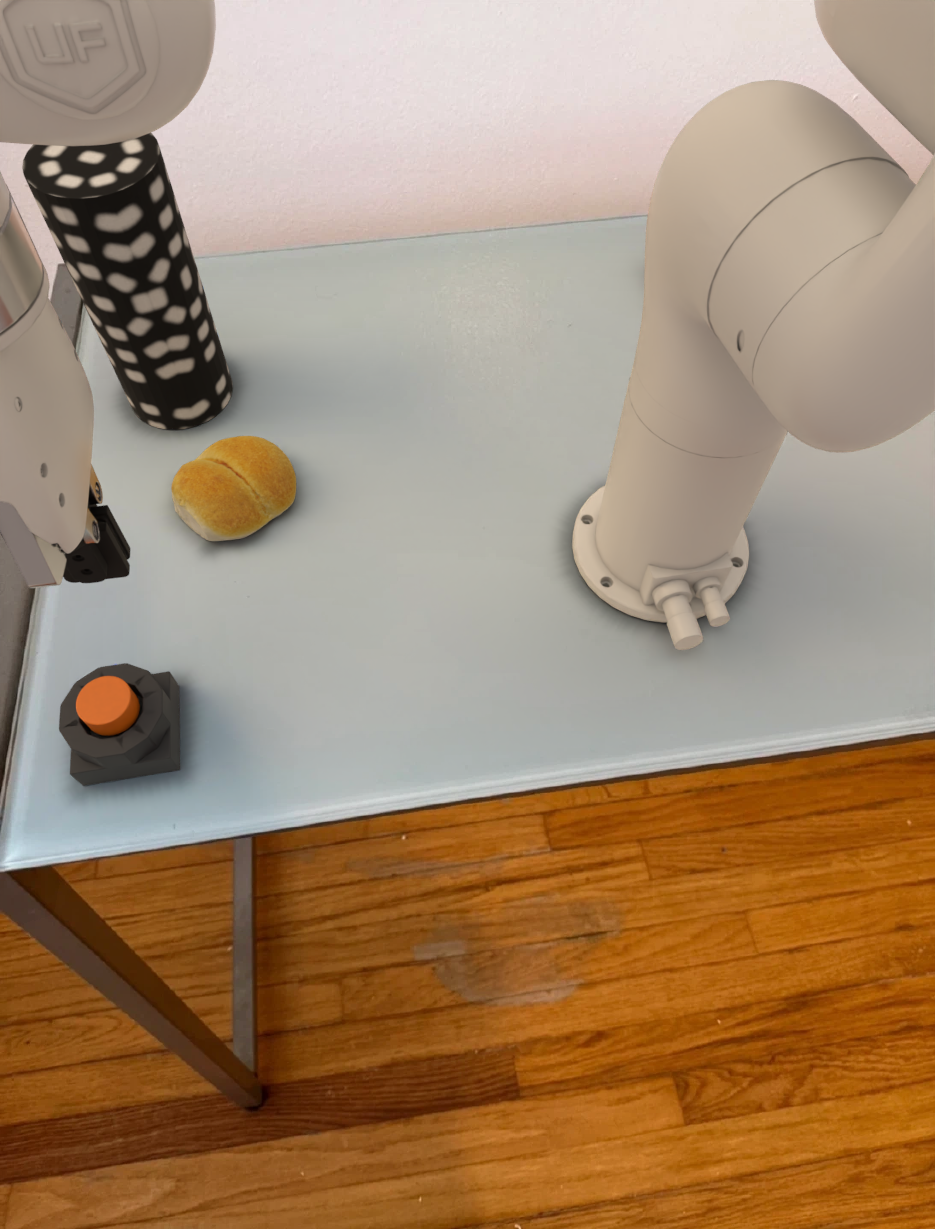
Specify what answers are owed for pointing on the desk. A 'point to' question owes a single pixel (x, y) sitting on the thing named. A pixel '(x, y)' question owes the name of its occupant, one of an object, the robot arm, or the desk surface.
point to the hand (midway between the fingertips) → (100, 567)
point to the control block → (135, 749)
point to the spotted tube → (134, 274)
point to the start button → (107, 705)
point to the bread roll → (234, 488)
